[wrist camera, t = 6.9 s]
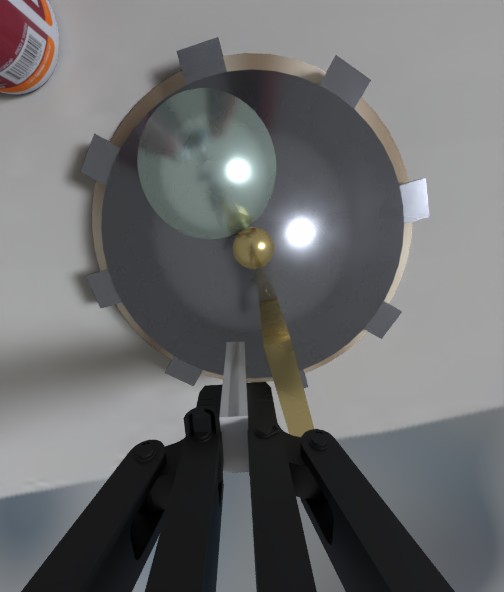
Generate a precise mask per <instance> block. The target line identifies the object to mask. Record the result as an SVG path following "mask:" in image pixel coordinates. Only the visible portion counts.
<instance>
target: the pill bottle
mask: <svg viewBox="0 0 504 592" xmlns="http://www.w3.org/2000/svg"><path fill="white" fill-rule="evenodd" d="M58 55H59V32H58V27H57V23H56V19H55V16H54V13H53V10H52V8H51V5H50V3H49V1H48V0H0V92H1V93H6V94H24V93H28V92H31V91H34V90H36V89H38V88H39V87H40V86H42V85H43V84H44V83H45V82H46V81H47V80H48V79H49V78H50V76H51V75H52V73H53V71H54V69H55V67H56V64H57V61H58Z"/></svg>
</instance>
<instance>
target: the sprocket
mask: <svg viewBox="0 0 504 592" xmlns="http://www.w3.org/2000/svg"><path fill="white" fill-rule="evenodd" d="M177 55H178V58H179V61H180V65H181V68H182V71H183V75H184V78H185V82H186V86H184V87H182V88H180V89H179V90H177V91H176V92H174V93H172V94H171V95H169V96H167V97H166V98H164V99H163V100H162V101H161V102H160V103H159V104H157V105H156V106H155V107H154V108H153V109H151V110H150V111H149V112H148V113H147V114H146V115H145V116H144V117H143V119H142V120H141V121H140V122H139V123H138V124H137V125H136V126H135V128H134V129H133V130H132V132H131V133H130V135H129V136H128V138H127V139H126V141H125V142H124V144H123V145H122V147H121V148H120V147H118V146H116V145H114V144H113V143H111V142H109V141H108V140H106V139H104V138H102V137H100V136H98V135H96V134H94V136H93V139H92V141H91V144H90V147H89V150H88V153H87V155H86V158H85V161H84V164H83V166H82V169H81V173H83V174H85V175H87V176H89V177H90V178H92V179H94V180H96V181H98V182H99V183H101V184H103V185H105V186H106V188H105V193H104V199H103V205H102V222H101V232H102V242H103V251H104V255H105V259H106V264H107V268H108V269H105V270H102V271H98V272H95V273H93V274H90V275H87V276H86V278H87V280H88V282H89V284H90V287H91V289H92V291H93V293H94V295H95V297H96V300H97V302H98V304H99V306H100V308H104V307H107V306H111V305H114V304H118V303H123V305H124V306H125V308H126V309H127V311H128V312H129V314H130V315H131V317H132V318H133V319H134V321H135V322H136V323H137V324H138V325H139V326H140V328H141V329H142V330H143V331H144V332H145V333H146V334H147V335H148V336H149V337H150V338H151V339H152V340H153V341H155V342H156V343H157V344H158V345H159V346H160V347H162V348H163V349H165V350H166V351H167V352H169V353H170V354H172V355H173V356H174V357H173V359H172V360H171V362H170V364H169V366H168V368H167V370H166V372H165V373H166V374H169V375H171V376H173V377H175V378H177V379H179V380H181V381H184V382H186V383H188V384H190V385H192V386H194V385H195V383H196V381H197V379H198V378H199V376H200V374H201V372H202V371H203V370H204V371H208V372H212V373H215V374H219V375H224V365H225V355H226V345H227V342H244V345H245V366H246V378H268V377H273V380H274V383H275V387H276V390H277V393H278V397H279V400H280V404H281V407H282V410H283V414H284V417H285V421H286V424H287V427H288V431H289V434H290V435H293V436H298V437H301V436H302V435H303V434H304V432H306V431H308V430H312V429H314V426H313V423H312V419H311V415H310V411H309V407H308V404H307V400H306V396H305V392H304V388H306V387H308V385H307V381H306V377H305V373H304V369H306V368H308V367H310V366H313V365H315V364H317V363H319V362H321V361H323V360H325V359H326V358H328V357H330V356H332V355H333V354H335V353H336V352H338V351H339V350H340V349H342V348H343V347H344V346H346V345H347V344H348V343H350V342H351V341H352V340H353V339H354V338H355V337H356V336H357V335H358V334H359V333H360V332H361V331H362V330H363V329H365V330H367V331H368V332H370V333H372V334H374V335H376V336H377V337H379V338H381V339H382V338H383V336H384V335H385V334H386V332H387V331H388V330H389V328H390V327H391V326H392V324H393V323H394V322H395V320H396V319H397V318H398V316H399V315H400V314H401V311H400V310H398V309H397V308H395V307H394V306H392V305H390V304H389V303H387V302H385V301H384V300H385V298H386V296H387V294H388V292H389V289H390V287H391V285H392V283H393V280H394V277H395V274H396V271H397V268H398V266H399V261H400V256H401V251H402V246H403V235H404V224H405V223H409V222H412V221H416V220H420V219H423V218H427V217H429V207H428V197H427V186H426V178H424V179H419V180H414V181H410V182H407V183H403V184H400V185H399V182H398V179H397V176H396V173H395V170H394V167H393V164H392V162H391V160H390V158H389V156H388V154H387V152H386V150H385V148H384V146H383V144H382V143H381V141H380V140H379V138H378V137H377V135H376V134H375V132H374V131H373V129H372V128H371V127H370V125H369V124H368V123H367V122H366V121H365V120H364V119H363V118H362V117H361V116H360V115H359V113H358V112H357V111H356V110H355V109H354V108H355V107H356V105H357V103H358V102H359V100H360V98H361V96H362V95H363V93H364V91H365V89H366V88H367V86H368V84H369V83H370V81H371V80H370V79H369V78H367V77H366V76H365V75H363V74H362V73H360V72H359V71H358V70H356V69H355V68H353V67H352V66H351V65H349V64H348V63H346V62H345V61H344V60H342V59H341V58H339V57H338V56H337V55H336V56H335V58H334V59H333V61H332V63H331V65H330V67H329V69H328V70H327V72H326V74H325V76H324V78H323V80H322V82H321V83H320V85H318V84H316V83H313V82H311V81H308V80H306V79H303V78H301V77H298V76H295V75H290V74H286V73H282V72H277V71H268V70H254V69H250V70H238V71H228V72H227V70H226V66H225V62H224V58H223V54H222V50H221V46H220V42H219V39H218V37H217V38H214V39H211V40H208V41H205V42H202V43H199V44H197V45H194V46H191V47H188V48H185V49H182V50H179V51H177Z"/></svg>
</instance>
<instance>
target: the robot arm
mask: <svg viewBox="0 0 504 592" xmlns="http://www.w3.org/2000/svg"><path fill="white" fill-rule="evenodd" d="M184 425H185V433H186V437H185V438H184V439H182V440H181V441H179V442H177V443H174V444H171V445H168V446H165V447H164V445H163V443H162V442H161V441H158V440H147V441H144V442H141V443H139V444H138V445H136V446H135V447H134V448H133V449H132V450H131V451H130V452H129V453H128V454H127V456H126V457H125V458H124V459H123V461H122V462H121V463H120V465H119V466H118V467H117V468H116V470H115V471H114V472H113V474H112V475H111V476H110V478H109V479H108V480H107V481H106V483H105V484H104V485H103V487H102V488H101V489H100V491H99V492H98V493H97V494H96V496H95V497H94V498H93V499H92V501H91V502H90V503H89V505H88V506H87V507H86V509H85V510H84V511H83V513H82V514H81V515H80V516H79V518H78V519H77V520H76V521H75V523H74V524H73V525H72V527H71V528H70V529H69V531H68V532H67V533H66V534H65V536H64V537H63V538H62V540H61V541H60V542H59V544H58V545H57V546H56V547H55V549H54V550H53V551H52V552H51V554H50V555H49V556H48V558H47V559H46V560H45V561H44V563H43V564H42V566H41V567H40V568H39V569H38V571H37V572H36V573H35V574H34V576H33V577H32V578H31V580H30V581H29V582H28V584H27V585H26V586H25V587H24V589H23V590H22V591H21V592H132V590H133V588H134V586H135V584H136V582H137V580H138V578H139V576H140V574H141V572H142V569H143V567H144V565H145V563H146V561H147V559H148V557H149V555H150V553H151V551H152V549H153V547H154V545H155V543H156V541H157V538H158V536H159V534H160V536H159V540H158V544H157V547H156V551H155V555H154V559H153V563H152V566H151V570H150V574H149V578H148V582H147V585H146V589H145V592H216V581H217V568H218V555H219V553H218V552H219V541H220V528H221V515H222V501H223V488H224V484H223V471H224V473H238V472H249V475H250V485H251V486H250V487H251V503H252V518H253V519H252V520H253V537H254V554H255V571H256V588H257V592H317V591H316V587H315V582H314V577H313V573H312V568H311V564H310V559H309V555H308V550H307V545H306V541H305V536H304V532H303V527H302V522H301V518H300V513H299V509H298V504H297V500H296V496H297V497H300V498H301V502H302V503H303V505H304V508H305V510H306V512H307V514H308V516H309V518H310V520H311V522H312V524H313V526H314V528H315V530H316V532H317V534H318V536H319V538H320V540H321V542H322V544H323V546H324V548H325V550H326V552H327V554H328V556H329V558H330V561H331V562H332V565H333V566H334V569H335V571H336V573H337V575H338V576H339V579H340V581H341V583H342V585H343V587H344V589H345V591H346V592H455V591H454V590H453V589H452V588H451V586H450V585H449V584H448V583H447V581H446V580H445V579H444V577H443V576H442V575H441V574H440V572H439V571H438V570H437V569H436V567H435V566H434V565H433V563H432V562H431V561H430V560H429V558H428V557H427V556H426V554H425V553H424V552H423V551H422V549H421V548H420V547H419V545H418V544H417V543H416V542H415V541H414V539H413V538H412V537H411V535H410V534H409V533H408V532H407V530H406V529H405V528H404V526H403V525H402V524H401V522H400V521H399V520H398V519H397V517H396V516H395V515H394V514H393V512H392V511H391V510H390V508H389V507H388V506H387V505H386V503H385V502H384V501H383V500H382V498H381V497H380V496H379V494H378V493H377V492H376V491H375V489H374V488H373V487H372V485H371V484H370V483H369V482H368V480H367V479H366V478H365V476H364V475H363V474H362V473H361V471H360V470H359V469H358V468H357V466H356V465H355V464H354V463H353V461H352V460H351V459H350V458H349V456H348V455H347V454H346V452H345V451H344V450H343V448H342V447H341V446H340V445H339V443H338V442H337V441H336V439H335V438H334V437H333V436H332V435H331V434H330V433H328V432H326V431H324V430H319V429H312V430H308V431H306V432H304V434H303V435H302V436H301V437H298V436H293V435H290V434H288V433H286V432H284V431H283V430H282V429H281V428H280V426H279V425H278V423H277V418H276V413H275V408H274V402H273V397H272V392H271V387H270V386H269V385H268V384H267V383H266V382H253V383H246V366H245V345H244V342H227V345H226V355H225V365H224V376H223V385H209V386H204V388H203V389H202V390H201V391H200V393H199V397H198V402H197V407H196V408H194V409H192V410H190V411H189V412H188V413H187V414H186V415H185V417H184Z"/></svg>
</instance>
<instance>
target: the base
mask: <svg viewBox="0 0 504 592" xmlns="http://www.w3.org/2000/svg"><path fill="white" fill-rule="evenodd" d="M223 58H224V62H225V66H226V70H227V72H228V71H238V70H250V69H254V70H268V71H277V72H282V73H286V74H290V75H295V76H298V77H301V78H303V79H306V80H308V81H311V82H313V83H316V84H318V85H320V83H321V82H322V80H323V78H324V76H325V74H326V72H325V71H323V70H321V69H319V68H318V67H315V66H312V65H310V64H307V63H304V62H301V61H299V60H296V59H292V58H287V57H282V56H277V55H271V54H248V53H244V54H236V55H228V56H223ZM184 86H186V82H185V78H184V75H183V71H180V72H177V73H175V74H174V75H172V76H171V77H169V78H168V79H166V80H165V81H163V82H162V83H160V84H159V85H157V86H156V87H154V88H153V89H152V90H151V91H150V92H149V93H148V94H147V95H146V96H145V97H143V98H142V99H141V100H140V101H139V102H138V103H137V104H136V105H135V106H134V108H133V109H132V110H131V111H130V113H129V114H128V115H127V116H126V117H125V119H124V120H123V121H122V122H121V124H120V126H119V127H118V129H117V131H116V133H115V134H114V136H113V138H112V139H111V141H110V142H111V143H113V144H114V145H116V146H118V147H120V148H121V147H122V145H123V144H124V142H125V141H126V139H127V138H128V136H129V135H130V133H131V132H132V130H133V129H134V128H135V126H136V125H137V124H138V123H139V122H140V121H141V120H142V119H143V117H144V116H145V115H146V114H147V113H148V112H149V111H150V110H151V109H153V108H154V107H155V106H156V105H157V104H159V103H160V102H161V101H162V100H163V99H164V98H166V97H167V96H169V95H171V94H172V93H174V92H176V91H177V90H179V89H180V88H182V87H184ZM354 109H355V110H356V111H357V112H358V113H359V115H360V116H361V117H362V118H363V119H364V120H365V121H366V122H367V123H368V124H369V125H370V127H371V128H372V129H373V131H374V132H375V134H376V135H377V137H378V138H379V140H380V141H381V143H382V144H383V146H384V148H385V150H386V152H387V154H388V156H389V158H390V160H391V162H392V164H393V167H394V170H395V173H396V176H397V179H398V182H399V185H400V184H403V183H407V182H408V177H407V172H406V169H405V166H404V164H403V161H402V158H401V155H400V152H399V150H398V148H397V146H396V144H395V142H394V140H393V138H392V137H391V135H390V133H389V131H388V129H387V128H386V126H385V125H384V124H383V122H382V121H381V119H380V118H379V117H378V115H377V114H376V112H375V111H374V110H373V109H372V108H371V107H370V106H369V105H368V104H367V103H366V102H365V101H364V100H363V99H362V98H360V100H359V102H358V103H357V105H356V107H355V108H354ZM105 188H106V186H105V185H103V184H101V183H99V182H98V181H96V183H95V188H94V196H93V204H92V233H93V240H94V247H95V253H96V257H97V260H98V264H99V268H100V271H102V270H105V269H108V268H107V264H106V259H105V255H104V251H103V242H102V232H101V222H102V205H103V199H104V193H105ZM411 238H412V222H409V223H405V224H404V235H403V246H402V251H401V256H400V261H399V266H398V268H397V271H396V274H395V277H394V280H393V283H392V285H391V287H390V289H389V292H388V294H387V296H386V298H385V300H384V301H385V302H387V303H389V302H390V301H391V299H392V297H393V296H394V293H395V291H396V289H397V287H398V285H399V282H400V280H401V278H402V275H403V272H404V269H405V265H406V262H407V259H408V254H409V249H410V243H411ZM116 305H117V307H118V309H119V310H120V312H121V313H122V314H123V316H124V317H125V318H126V320H127V321H128V323H129V324H130V325H131V326H132V327H133V328H134V329H135V330H136V331H137V333H138V334H139V335H140V336H141V337H142V338H143V339H144V340H146V341H147V342H148V343H149V344H150V345H151V346H153V347H154V348H155V349H156V350H157V351H159V352H160V353H162V354H163V355H165V356H166V357H168V358H169V359H171V360H172V359H173V357H174V356H173V355H172V354H170V353H169V352H167V351H166V350H165V349H163V348H162V347H160V346H159V345H158V344H157V343H156V342H155V341H153V340H152V339H151V338H150V337H149V336H148V335H147V334H146V333H145V332H144V331H143V330H142V329H141V328H140V326H139V325H138V324H137V323H136V322H135V321H134V319H133V318H132V317H131V315H130V314H129V312H128V311H127V309H126V308H125V306H124V305H123V303H118V304H116ZM367 332H368V331H367V330H365V329H363V330H362V331H361V332H360V333H359V334H358V335H357V336H356V337H355V338H354V339H353V340H352V341H351V342H350V343H348V344H347V345H346V346H344V347H343V348H342V349H340V350H339V351H338V352H336V353H335V354H333V355H332V356H330V357H328V358H326V359H325V360H323V361H321V362H319V363H317V364H315V365H313V366H310V367H308V368H306V369H304V373H306V372H309V371H312V370H314V369H316V368H318V367H320V366H322V365H324V364H326V363H328V362H330V361H331V360H333V359H335V358H336V357H338V356H339V355H341V354H343V353H344V352H345V351H347V350H348V349H349V348H350V347H352V346H353V345H354V344H355V343H357V342H358V341H359V340H360V339H361V338H362V337H363V336H364V335H365V334H366V333H367ZM201 374H204V375H207V376H211V377H215V378H219V379H223V376H224V375H219V374H215V373H212V372H208V371H204V370H203V371H202V372H201ZM265 381H274V380H273V377H268V378H246V382H265Z"/></svg>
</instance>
